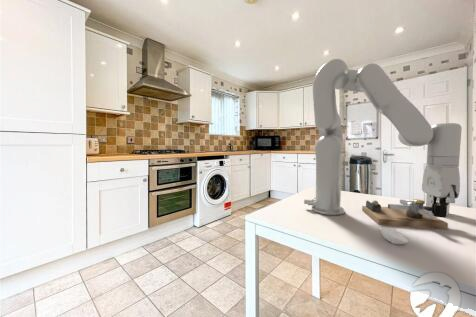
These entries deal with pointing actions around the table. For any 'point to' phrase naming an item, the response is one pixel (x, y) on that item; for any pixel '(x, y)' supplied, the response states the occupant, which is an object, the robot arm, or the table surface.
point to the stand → (399, 217)
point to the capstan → (413, 208)
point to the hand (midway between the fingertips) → (438, 216)
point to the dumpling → (393, 236)
